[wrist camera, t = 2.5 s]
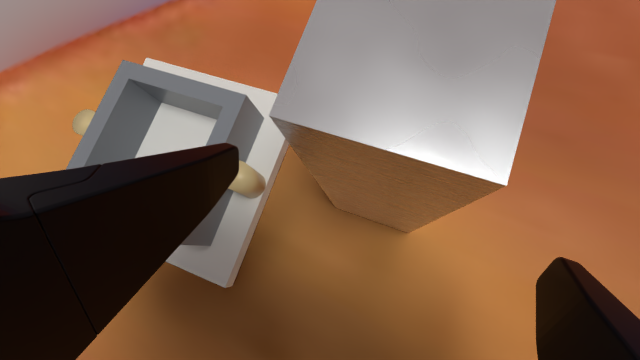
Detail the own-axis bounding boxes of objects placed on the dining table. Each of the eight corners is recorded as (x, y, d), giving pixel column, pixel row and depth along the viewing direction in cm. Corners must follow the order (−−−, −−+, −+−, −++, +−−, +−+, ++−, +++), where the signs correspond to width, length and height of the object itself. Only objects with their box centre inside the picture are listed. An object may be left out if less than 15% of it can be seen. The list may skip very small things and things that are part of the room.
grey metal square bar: (408, 233, 18) (506, 185, 5) (336, 207, 19) (268, 115, 6) (430, 162, 18) (564, -32, 6) (359, 141, 19) (343, -64, 7)
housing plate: (232, 286, 18) (196, 295, 15) (79, 218, 21) (14, 211, 17) (303, 107, 20) (288, 73, 17) (155, 65, 23) (112, 28, 19)
